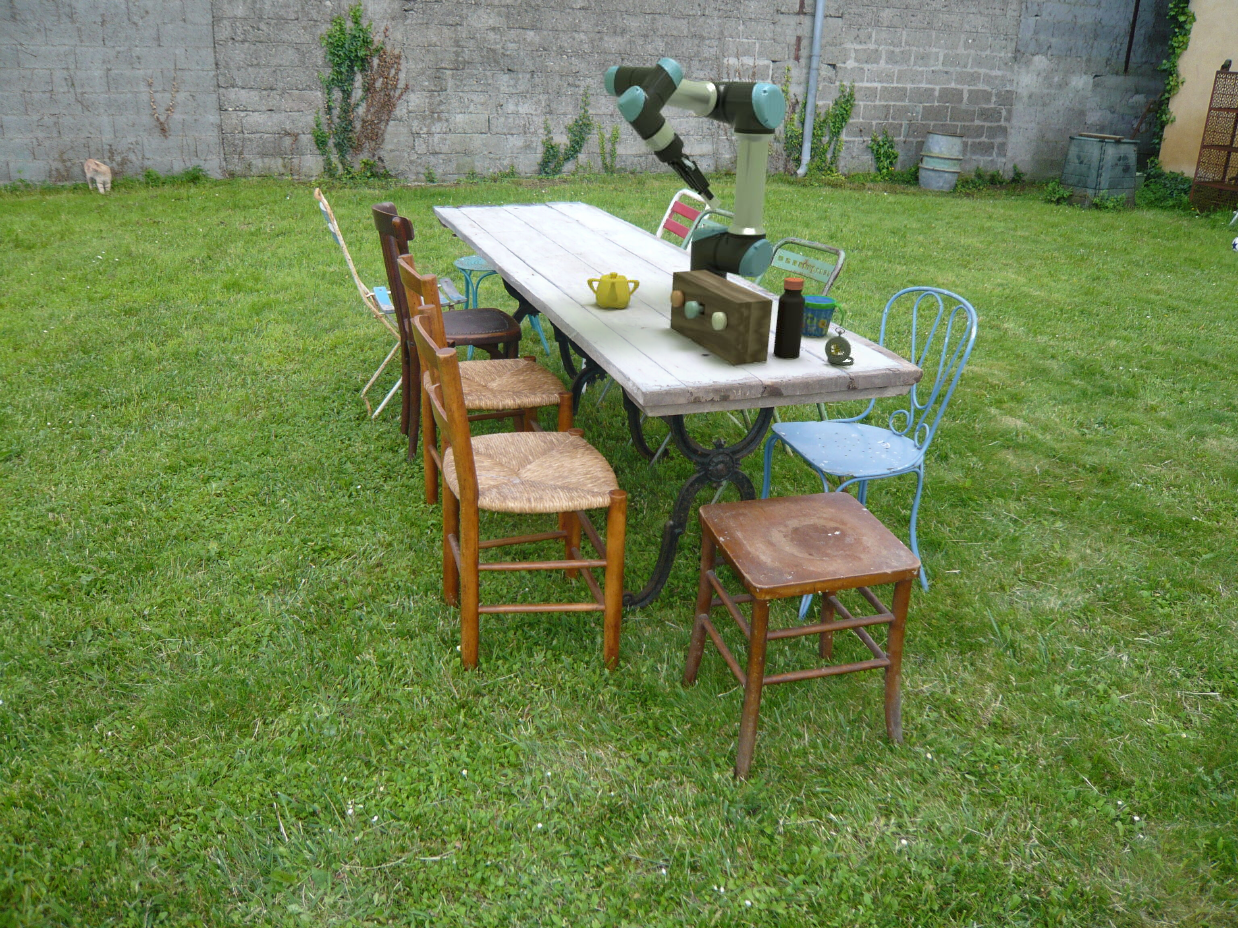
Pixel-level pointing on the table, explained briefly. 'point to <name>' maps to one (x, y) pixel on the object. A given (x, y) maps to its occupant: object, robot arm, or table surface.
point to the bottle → (790, 319)
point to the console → (742, 309)
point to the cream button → (719, 320)
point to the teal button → (693, 309)
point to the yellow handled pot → (613, 290)
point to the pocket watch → (838, 349)
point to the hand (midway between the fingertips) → (716, 206)
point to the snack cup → (819, 314)
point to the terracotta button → (677, 298)
